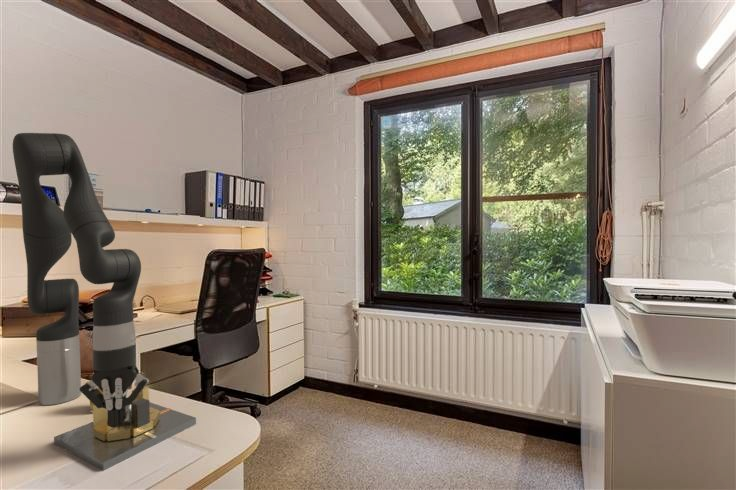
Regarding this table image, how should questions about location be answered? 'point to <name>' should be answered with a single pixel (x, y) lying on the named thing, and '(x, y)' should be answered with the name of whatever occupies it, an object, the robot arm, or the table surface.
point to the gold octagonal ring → (140, 419)
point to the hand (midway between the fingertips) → (117, 425)
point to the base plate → (119, 450)
